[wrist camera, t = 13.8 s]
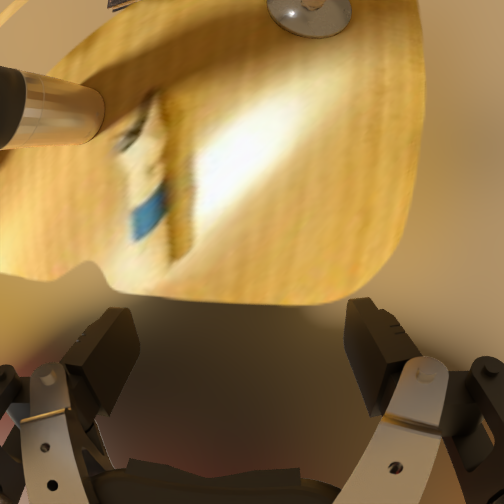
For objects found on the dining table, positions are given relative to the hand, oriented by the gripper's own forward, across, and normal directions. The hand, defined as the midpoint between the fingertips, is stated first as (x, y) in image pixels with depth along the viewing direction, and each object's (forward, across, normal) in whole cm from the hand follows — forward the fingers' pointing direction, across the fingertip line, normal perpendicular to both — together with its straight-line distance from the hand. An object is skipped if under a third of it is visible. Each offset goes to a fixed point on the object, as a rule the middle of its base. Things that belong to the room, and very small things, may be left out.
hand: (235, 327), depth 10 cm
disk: (+30, -10, -29) cm, 43 cm away
